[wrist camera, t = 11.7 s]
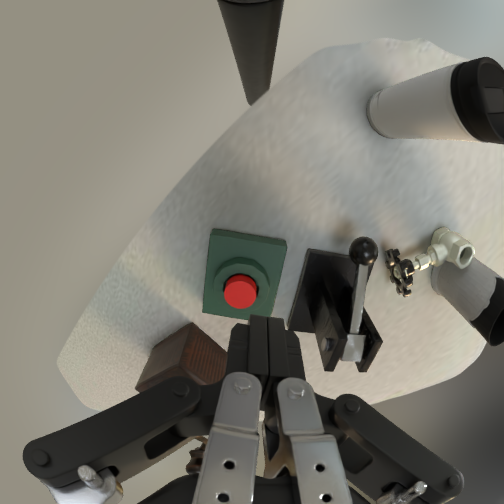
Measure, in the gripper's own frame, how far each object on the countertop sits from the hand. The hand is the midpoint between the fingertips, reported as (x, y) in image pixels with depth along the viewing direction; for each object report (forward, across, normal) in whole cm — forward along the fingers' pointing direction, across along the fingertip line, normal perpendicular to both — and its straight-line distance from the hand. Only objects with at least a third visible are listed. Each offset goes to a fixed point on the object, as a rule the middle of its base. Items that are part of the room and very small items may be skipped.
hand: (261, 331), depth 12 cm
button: (+18, +1, +9) cm, 20 cm away
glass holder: (+22, -34, +3) cm, 41 cm away
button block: (+22, +1, +9) cm, 23 cm away
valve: (+22, -23, 0) cm, 32 cm away
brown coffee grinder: (+22, +4, +27) cm, 35 cm away
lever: (+15, -11, +6) cm, 19 cm away
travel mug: (+22, -13, -16) cm, 30 cm away
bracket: (+22, -11, +10) cm, 26 cm away
